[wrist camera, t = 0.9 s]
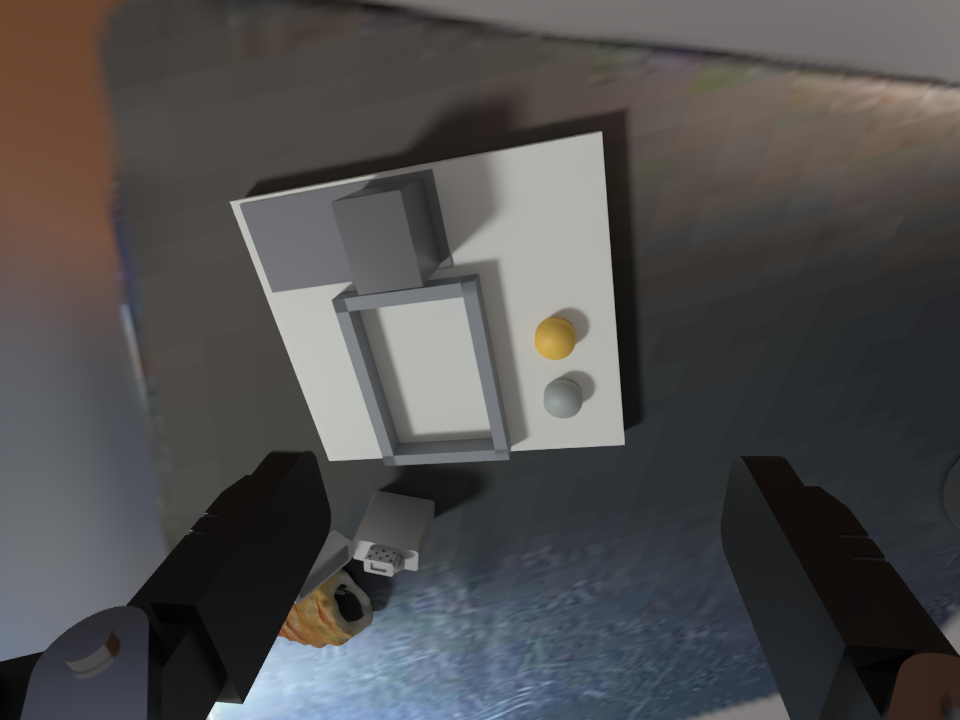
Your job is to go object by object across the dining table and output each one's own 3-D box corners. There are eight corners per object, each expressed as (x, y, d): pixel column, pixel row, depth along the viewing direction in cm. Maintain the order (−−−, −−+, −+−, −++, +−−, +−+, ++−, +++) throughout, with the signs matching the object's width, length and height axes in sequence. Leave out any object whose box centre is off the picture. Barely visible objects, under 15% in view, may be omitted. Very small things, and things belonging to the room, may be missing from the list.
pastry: (293, 627, 43) (269, 671, 40) (246, 572, 41) (217, 614, 37) (384, 609, 40) (367, 655, 37) (339, 549, 38) (317, 592, 34)
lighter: (435, 500, 34) (400, 607, 27) (434, 520, 34) (399, 627, 27) (333, 482, 34) (272, 580, 27) (334, 501, 35) (275, 601, 28)
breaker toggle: (422, 177, 23) (399, 189, 20) (441, 263, 25) (423, 286, 21) (361, 189, 24) (330, 202, 20) (384, 271, 25) (358, 294, 22)
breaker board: (600, 130, 22) (603, 133, 20) (622, 432, 29) (627, 458, 27) (243, 197, 26) (215, 206, 24) (337, 449, 33) (321, 473, 31)
